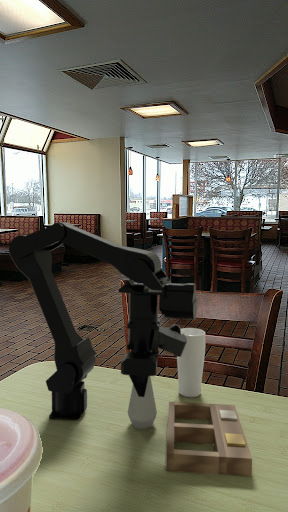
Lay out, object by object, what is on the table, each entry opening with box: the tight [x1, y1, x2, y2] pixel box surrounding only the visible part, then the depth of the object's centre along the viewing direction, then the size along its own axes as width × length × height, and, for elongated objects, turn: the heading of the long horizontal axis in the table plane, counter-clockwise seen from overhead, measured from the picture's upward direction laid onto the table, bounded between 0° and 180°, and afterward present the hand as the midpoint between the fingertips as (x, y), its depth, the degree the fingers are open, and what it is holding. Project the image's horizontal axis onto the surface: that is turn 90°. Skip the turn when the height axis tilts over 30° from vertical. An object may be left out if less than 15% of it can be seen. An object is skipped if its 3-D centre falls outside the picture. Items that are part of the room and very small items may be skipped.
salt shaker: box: [127, 376, 158, 430], centre depth 75 cm, size 6×6×13 cm
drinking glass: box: [176, 327, 206, 398], centre depth 89 cm, size 7×7×15 cm
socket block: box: [165, 401, 253, 478], centre depth 69 cm, size 14×18×3 cm
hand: (142, 392), depth 75 cm, fingers closed on salt shaker, 3 cm apart
